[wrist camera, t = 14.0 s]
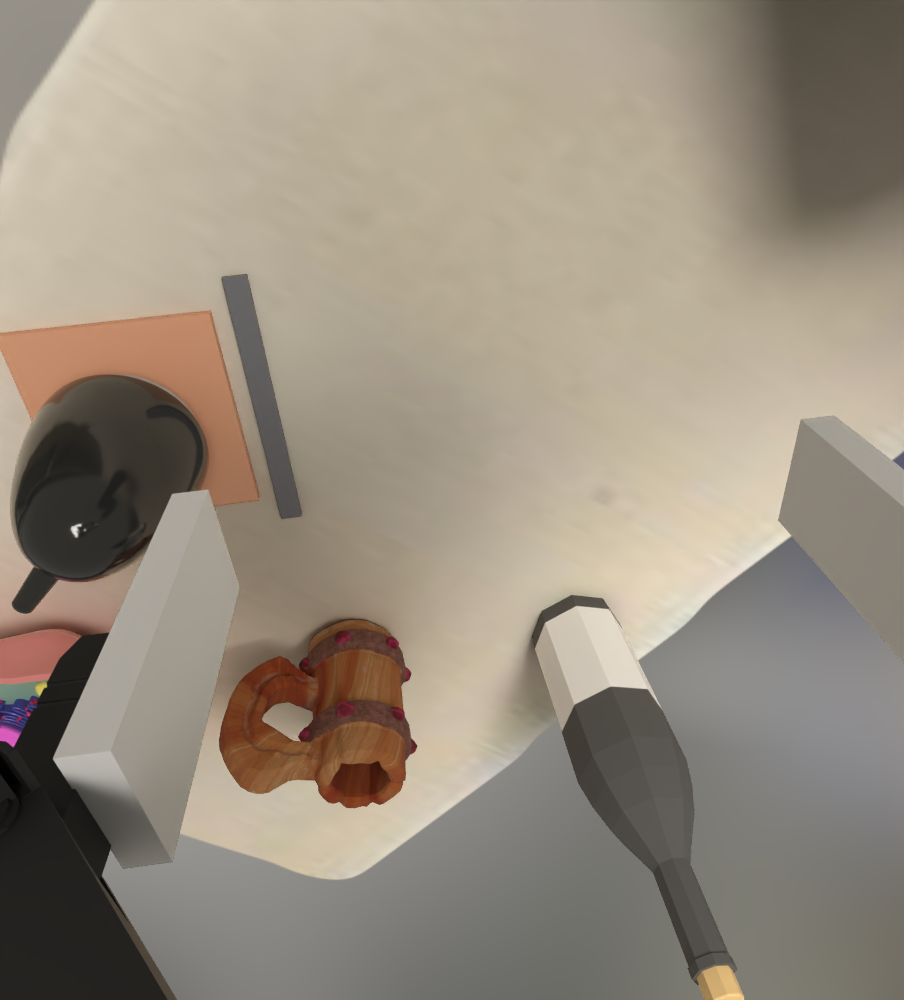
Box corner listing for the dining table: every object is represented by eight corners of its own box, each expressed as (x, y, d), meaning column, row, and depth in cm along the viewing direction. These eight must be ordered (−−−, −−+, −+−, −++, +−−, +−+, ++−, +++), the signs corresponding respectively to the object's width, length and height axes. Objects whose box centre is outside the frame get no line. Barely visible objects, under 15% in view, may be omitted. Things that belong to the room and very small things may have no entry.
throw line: (246, 274, 43) (246, 275, 42) (301, 513, 52) (301, 516, 52) (222, 276, 43) (221, 278, 42) (281, 515, 52) (281, 518, 52)
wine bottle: (635, 614, 63) (827, 981, 38) (577, 670, 66) (720, 1044, 41) (570, 579, 60) (733, 955, 34) (513, 640, 62) (624, 1027, 37)
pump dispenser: (26, 436, 46) (-98, 579, 33) (107, 320, 42) (4, 428, 30) (165, 515, 50) (103, 667, 38) (248, 416, 47) (211, 545, 34)
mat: (210, 310, 44) (209, 313, 43) (259, 495, 51) (258, 500, 51) (-2, 333, 43) (-6, 336, 42) (80, 518, 50) (77, 523, 50)
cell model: (166, 757, 65) (135, 875, 55) (-75, 706, 58) (-158, 831, 48) (228, 634, 58) (205, 745, 48) (-37, 558, 51) (-125, 671, 41)
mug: (421, 617, 60) (441, 765, 47) (394, 682, 63) (405, 835, 51) (250, 586, 56) (222, 739, 43) (232, 657, 59) (200, 817, 47)
